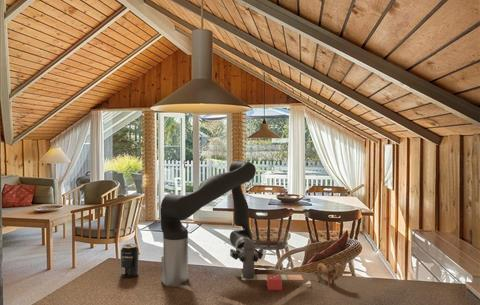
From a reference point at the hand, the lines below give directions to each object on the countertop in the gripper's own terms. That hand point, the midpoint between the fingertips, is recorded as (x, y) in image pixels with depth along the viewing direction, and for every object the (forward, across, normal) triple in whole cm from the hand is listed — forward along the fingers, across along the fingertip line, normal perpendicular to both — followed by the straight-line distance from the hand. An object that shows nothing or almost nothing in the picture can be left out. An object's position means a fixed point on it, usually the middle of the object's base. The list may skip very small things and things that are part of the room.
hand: (249, 259), depth 138 cm
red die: (+8, +8, +9) cm, 15 cm away
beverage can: (-12, -47, +9) cm, 49 cm away
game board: (-2, +9, +9) cm, 13 cm away
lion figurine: (+2, +30, +9) cm, 31 cm away
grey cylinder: (-3, 0, +8) cm, 8 cm away
